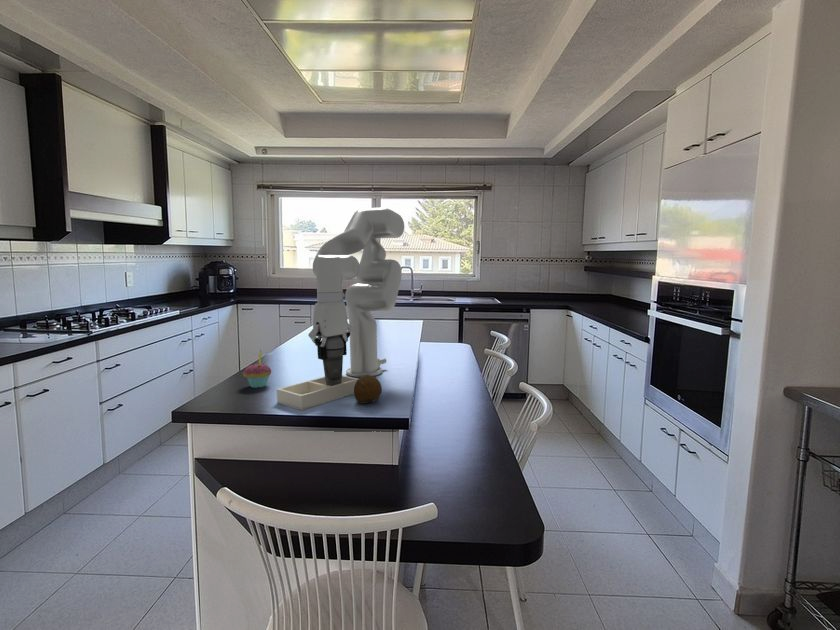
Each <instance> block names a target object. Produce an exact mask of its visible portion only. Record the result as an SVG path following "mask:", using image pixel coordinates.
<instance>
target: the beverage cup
mask: <svg viewBox="0 0 840 630" xmlns="http://www.w3.org/2000/svg"><path fill="white" fill-rule="evenodd" d="M324 346H326V356H327V359H326V360H322V363H323V364H322V365H323V372H324V376H325V381H326V385H328V386H334V385H338V384H341V382H342V375H343V364H344V355H343V354H344V348H345V347H344V343H343V341H342V339H341V338H340V337H339V336H333V337H327V339H326V342H325V345H324Z"/></svg>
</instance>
